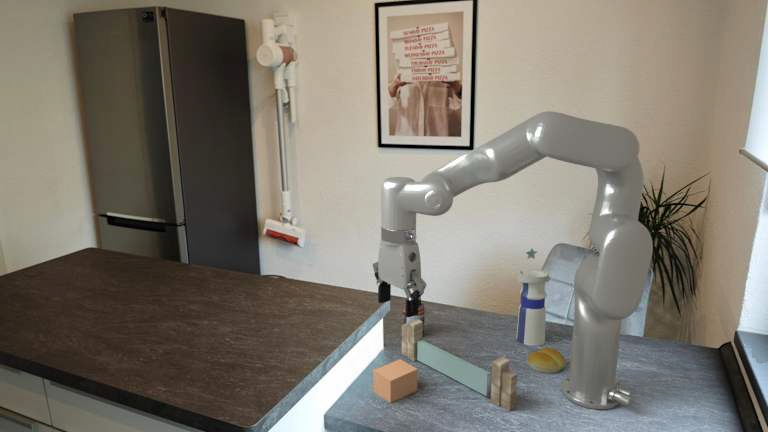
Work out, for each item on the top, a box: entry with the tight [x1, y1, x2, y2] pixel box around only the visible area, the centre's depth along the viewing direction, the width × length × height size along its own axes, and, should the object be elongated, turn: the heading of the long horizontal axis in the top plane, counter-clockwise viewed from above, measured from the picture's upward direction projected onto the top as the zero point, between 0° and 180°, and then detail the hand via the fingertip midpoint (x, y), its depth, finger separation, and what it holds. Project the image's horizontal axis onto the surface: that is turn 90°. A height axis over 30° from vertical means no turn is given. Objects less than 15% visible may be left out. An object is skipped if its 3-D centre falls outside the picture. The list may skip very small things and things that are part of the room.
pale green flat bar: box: [416, 339, 492, 399], centre depth 126 cm, size 23×2×5 cm, turn 41°
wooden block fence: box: [401, 319, 518, 412], centre depth 126 cm, size 34×3×10 cm, turn 41°
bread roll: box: [526, 347, 567, 374], centre depth 132 cm, size 8×9×4 cm
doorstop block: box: [372, 358, 418, 404], centre depth 122 cm, size 6×8×6 cm
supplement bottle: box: [402, 297, 425, 337], centre depth 149 cm, size 6×6×11 cm
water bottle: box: [515, 247, 551, 347], centre depth 144 cm, size 8×9×25 cm
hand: (397, 308), depth 120 cm, fingers open, 9 cm apart
